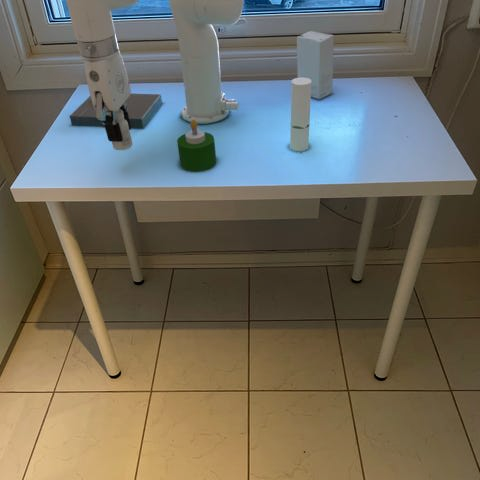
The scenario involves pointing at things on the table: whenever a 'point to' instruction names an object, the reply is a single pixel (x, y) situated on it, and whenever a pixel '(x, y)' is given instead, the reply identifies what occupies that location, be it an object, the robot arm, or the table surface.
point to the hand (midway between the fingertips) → (120, 134)
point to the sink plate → (138, 111)
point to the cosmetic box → (316, 61)
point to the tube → (300, 113)
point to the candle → (196, 149)
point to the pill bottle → (125, 132)
